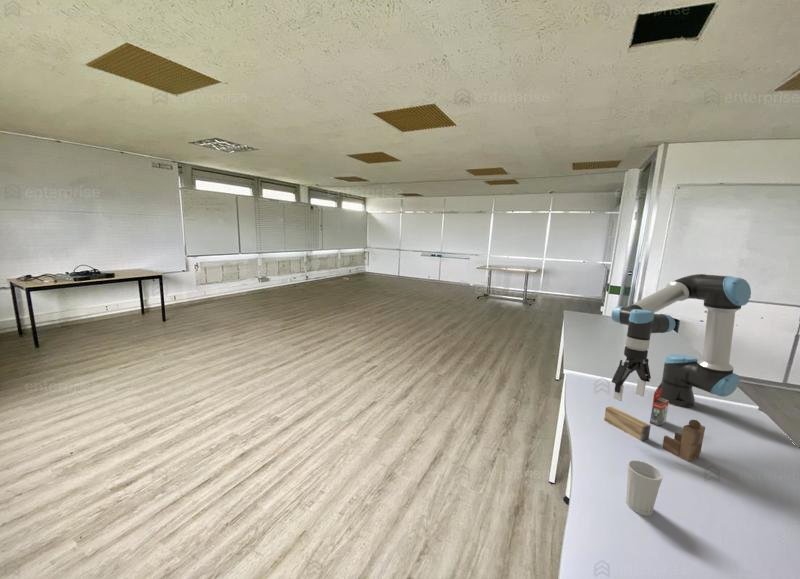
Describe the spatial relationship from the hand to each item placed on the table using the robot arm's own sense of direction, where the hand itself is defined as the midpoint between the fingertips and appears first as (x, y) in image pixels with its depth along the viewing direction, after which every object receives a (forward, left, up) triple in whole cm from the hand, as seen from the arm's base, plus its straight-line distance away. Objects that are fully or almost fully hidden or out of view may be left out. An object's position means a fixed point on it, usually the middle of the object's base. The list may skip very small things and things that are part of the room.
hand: (628, 397), depth 130 cm
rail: (0, 0, -14) cm, 14 cm away
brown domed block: (-5, +18, -14) cm, 23 cm away
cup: (+37, +29, -14) cm, 49 cm away
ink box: (-20, +1, -14) cm, 25 cm away
